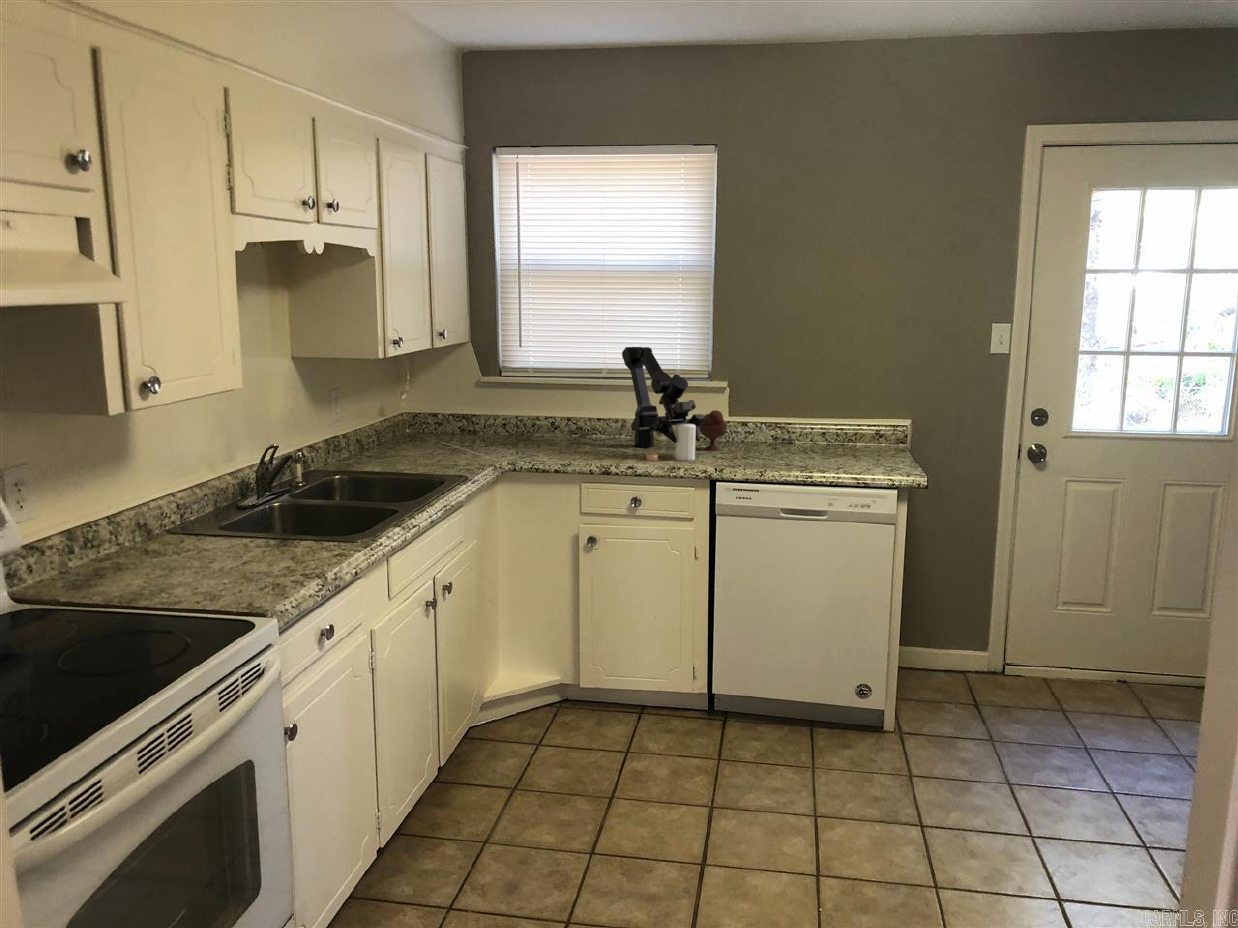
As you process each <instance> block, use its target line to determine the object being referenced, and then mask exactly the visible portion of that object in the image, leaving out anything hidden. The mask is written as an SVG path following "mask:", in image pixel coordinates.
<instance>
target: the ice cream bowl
mask: <svg viewBox="0 0 1238 928" xmlns="http://www.w3.org/2000/svg"><path fill="white" fill-rule="evenodd" d="M703 415H704V417H705V419H706V420H705V421H704V423H703V424H702V426H701V427H700V430H699V432H700V434H702V435H703V436H704V437H705V438H707V439H708V440H709V445H707V446H706V447H705V448H704V450H705V451H710V452H713V451H714V452H715V451H717V452H718V451H720V448H719V447H718V446H716V444H715V440H717V439H719V438H721V437H722V436H723V435H724V434H726V431H727V428H728V424H727V423H726V421H725V420H724V415H723V413H722V412H721V410H714V409H713V410H712V411H710V412H709V413H707V414H703Z"/></svg>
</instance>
